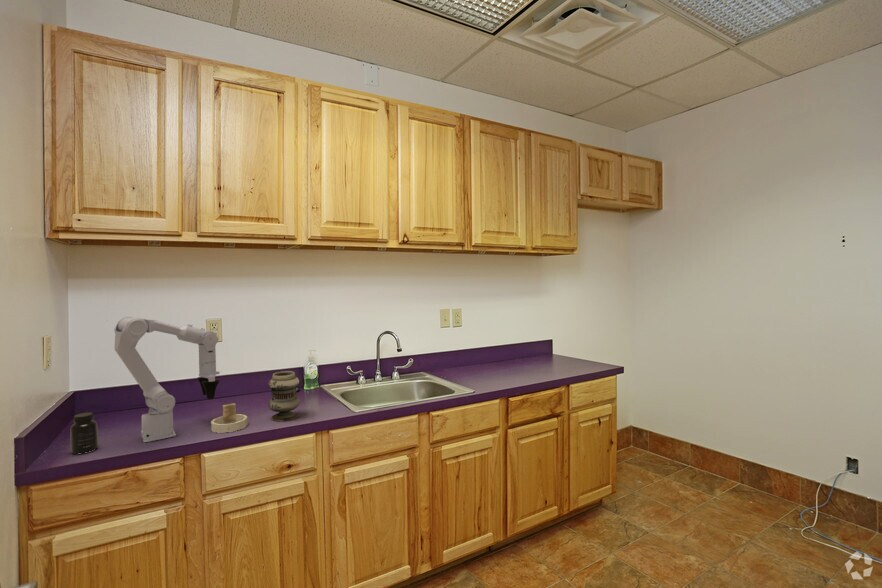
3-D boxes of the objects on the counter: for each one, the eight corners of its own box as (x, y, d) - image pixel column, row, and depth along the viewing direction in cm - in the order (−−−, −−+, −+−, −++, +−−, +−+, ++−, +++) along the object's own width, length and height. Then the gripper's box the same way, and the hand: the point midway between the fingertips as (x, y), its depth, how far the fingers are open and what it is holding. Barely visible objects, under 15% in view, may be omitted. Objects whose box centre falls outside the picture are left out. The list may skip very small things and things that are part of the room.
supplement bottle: (69, 451, 139) (67, 415, 139) (95, 445, 144) (94, 410, 144) (73, 456, 134) (71, 419, 134) (100, 450, 140) (99, 414, 139)
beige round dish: (215, 435, 152) (215, 427, 152) (208, 426, 161) (208, 418, 161) (251, 427, 160) (250, 419, 160) (242, 419, 169) (242, 412, 169)
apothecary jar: (272, 424, 163) (271, 377, 163) (265, 416, 173) (264, 372, 173) (304, 418, 170) (303, 373, 169) (296, 410, 180) (295, 368, 179)
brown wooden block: (224, 427, 159) (224, 406, 158) (223, 426, 160) (222, 405, 160) (236, 425, 161) (235, 404, 161) (234, 423, 163) (234, 403, 162)
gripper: (223, 363, 161) (224, 398, 162) (214, 357, 172) (215, 391, 173) (202, 365, 157) (203, 402, 157) (194, 360, 168) (195, 394, 168)
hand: (208, 396), depth 165 cm, fingers open, 7 cm apart
